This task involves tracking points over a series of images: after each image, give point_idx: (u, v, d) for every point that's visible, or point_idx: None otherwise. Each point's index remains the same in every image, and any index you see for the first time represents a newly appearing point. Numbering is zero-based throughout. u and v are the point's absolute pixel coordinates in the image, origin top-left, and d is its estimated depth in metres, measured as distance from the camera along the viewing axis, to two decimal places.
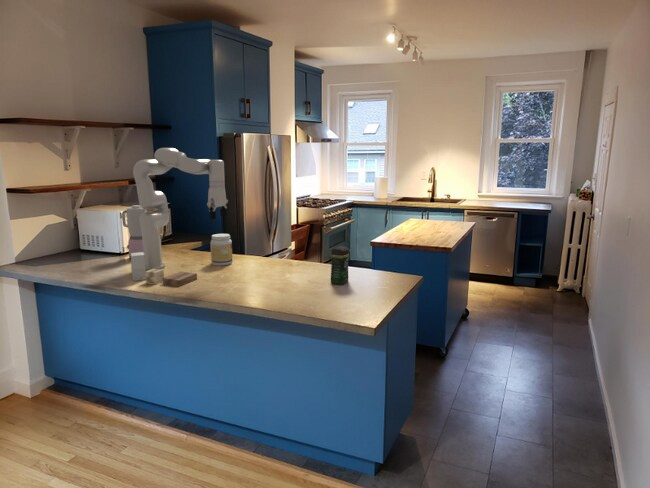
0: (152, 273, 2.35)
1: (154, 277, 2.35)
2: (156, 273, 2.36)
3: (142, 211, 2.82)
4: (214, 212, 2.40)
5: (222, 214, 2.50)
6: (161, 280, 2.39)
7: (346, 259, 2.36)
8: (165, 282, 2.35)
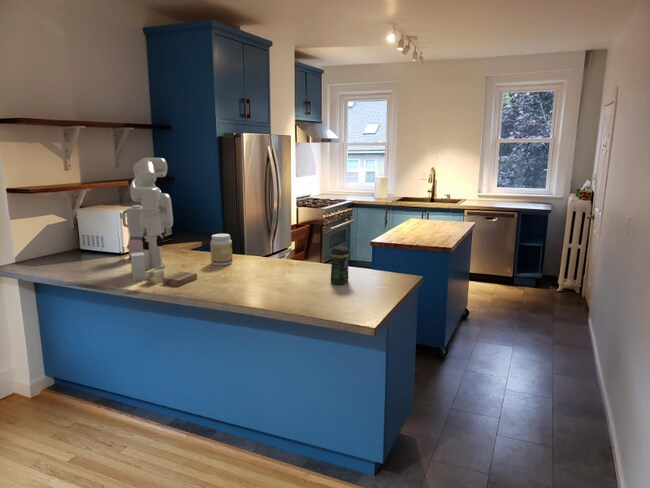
0: (152, 273, 2.35)
1: (154, 277, 2.35)
2: (156, 273, 2.36)
3: None
4: (147, 243, 2.30)
5: (158, 244, 2.40)
6: (161, 280, 2.39)
7: (346, 259, 2.36)
8: (165, 282, 2.35)
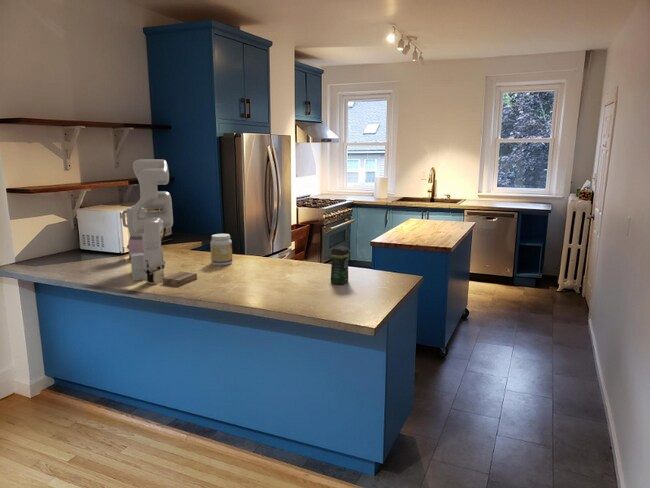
0: (152, 273, 2.35)
1: (154, 277, 2.35)
2: (156, 273, 2.36)
3: (142, 211, 2.82)
4: (151, 275, 2.35)
5: None
6: (161, 280, 2.39)
7: (346, 259, 2.36)
8: (165, 282, 2.35)
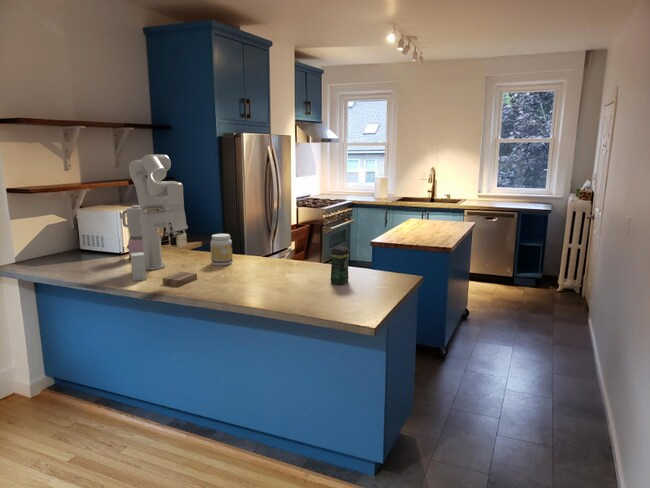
0: (175, 236, 2.33)
1: (177, 240, 2.33)
2: (179, 236, 2.33)
3: (142, 211, 2.82)
4: (174, 238, 2.33)
5: None
6: (184, 244, 2.37)
7: (346, 259, 2.36)
8: (165, 282, 2.35)
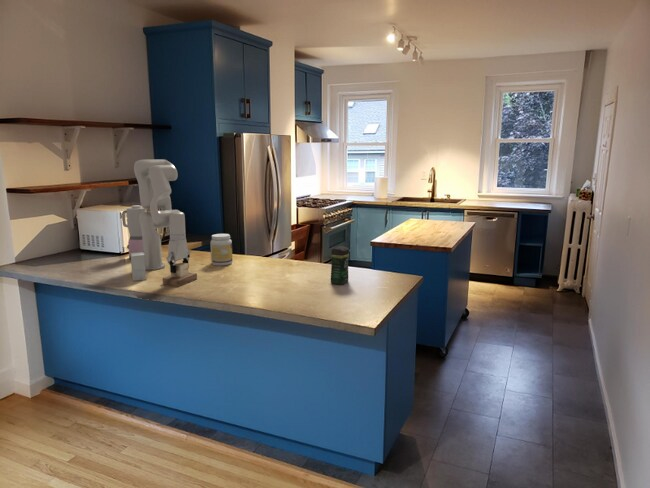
0: (177, 266, 2.36)
1: (179, 270, 2.36)
2: (181, 266, 2.36)
3: (142, 211, 2.82)
4: (174, 266, 2.34)
5: None
6: (186, 274, 2.40)
7: (346, 259, 2.36)
8: (165, 282, 2.35)
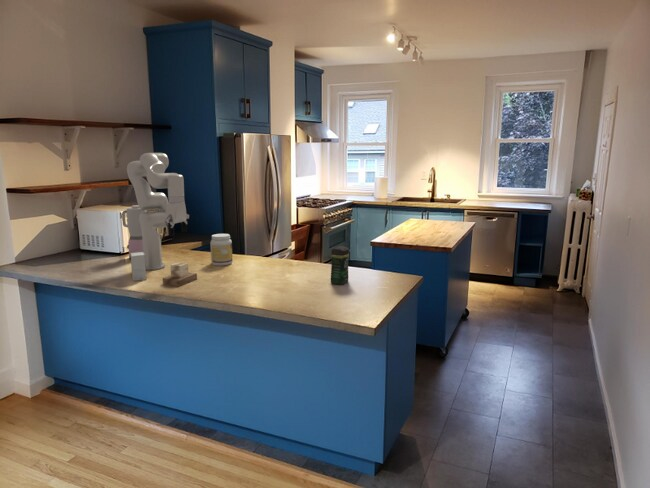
0: (177, 266, 2.36)
1: (179, 270, 2.36)
2: (181, 266, 2.36)
3: (142, 211, 2.82)
4: (172, 228, 2.33)
5: (183, 230, 2.42)
6: (186, 274, 2.40)
7: (346, 259, 2.36)
8: (165, 282, 2.35)
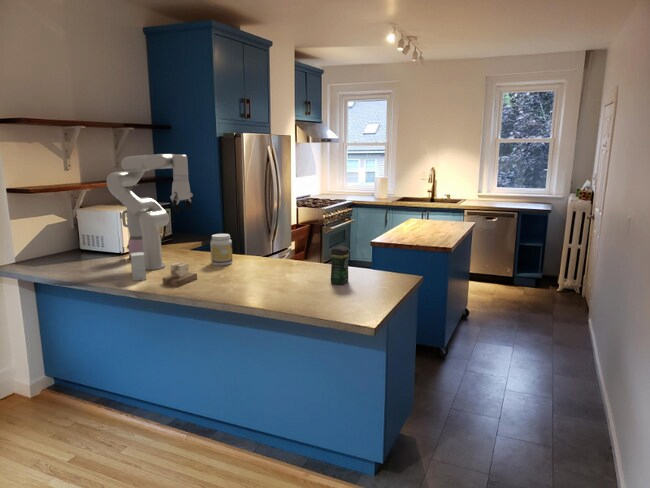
0: (177, 266, 2.36)
1: (179, 270, 2.36)
2: (181, 266, 2.36)
3: None
4: (177, 205, 2.48)
5: (187, 207, 2.58)
6: (186, 274, 2.40)
7: (346, 259, 2.36)
8: (165, 282, 2.35)
